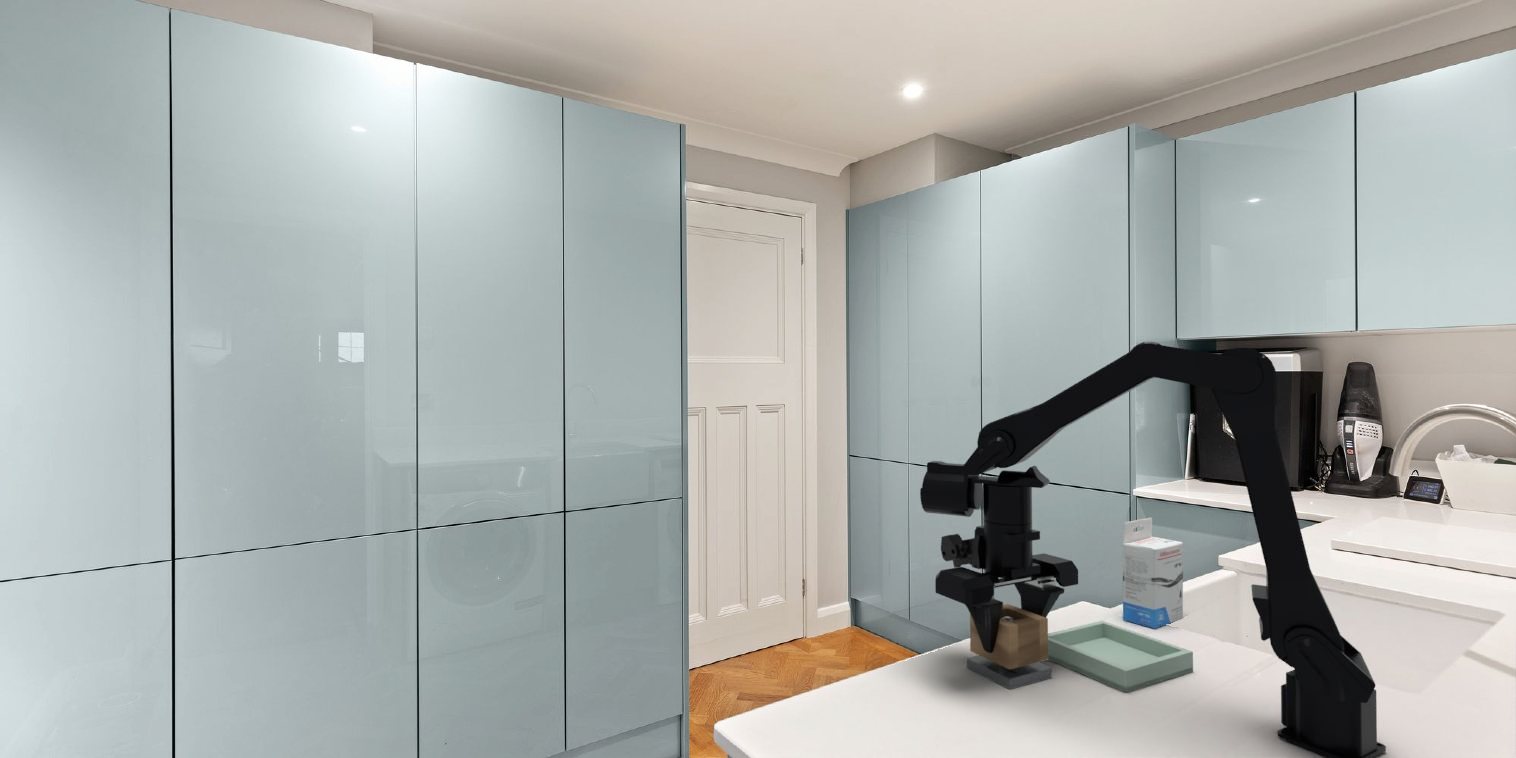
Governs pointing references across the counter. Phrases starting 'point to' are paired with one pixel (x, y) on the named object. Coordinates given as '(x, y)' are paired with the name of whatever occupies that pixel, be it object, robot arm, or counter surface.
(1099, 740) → the counter surface
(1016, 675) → the stand
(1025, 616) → the walnut block
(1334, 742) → the robot arm
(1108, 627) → the sage tray
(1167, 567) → the ink box
